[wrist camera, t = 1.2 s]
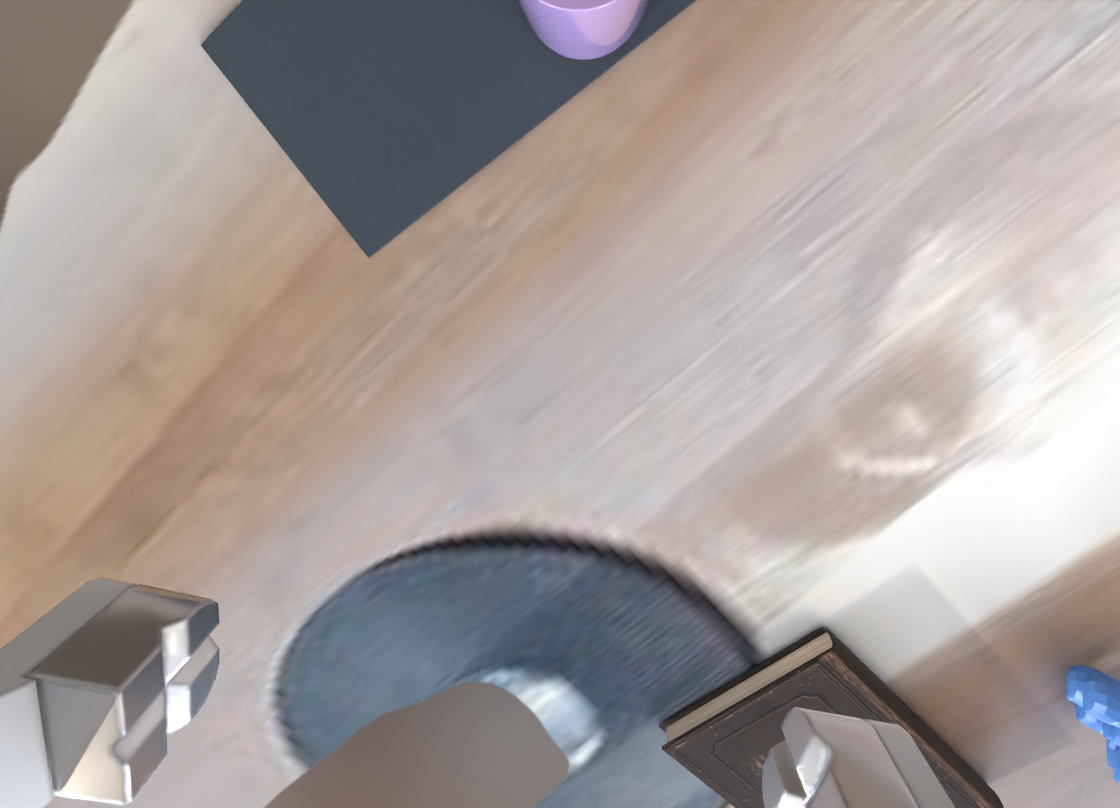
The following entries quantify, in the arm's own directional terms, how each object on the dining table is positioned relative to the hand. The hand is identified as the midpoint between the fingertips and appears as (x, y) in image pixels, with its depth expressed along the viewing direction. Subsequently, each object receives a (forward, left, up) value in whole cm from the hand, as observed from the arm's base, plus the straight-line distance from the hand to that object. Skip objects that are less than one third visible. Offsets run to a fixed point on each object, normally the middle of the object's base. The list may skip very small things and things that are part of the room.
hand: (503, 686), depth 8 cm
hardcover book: (+4, +43, -28) cm, 51 cm away
